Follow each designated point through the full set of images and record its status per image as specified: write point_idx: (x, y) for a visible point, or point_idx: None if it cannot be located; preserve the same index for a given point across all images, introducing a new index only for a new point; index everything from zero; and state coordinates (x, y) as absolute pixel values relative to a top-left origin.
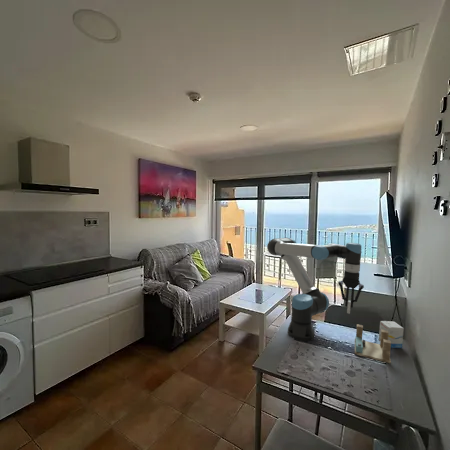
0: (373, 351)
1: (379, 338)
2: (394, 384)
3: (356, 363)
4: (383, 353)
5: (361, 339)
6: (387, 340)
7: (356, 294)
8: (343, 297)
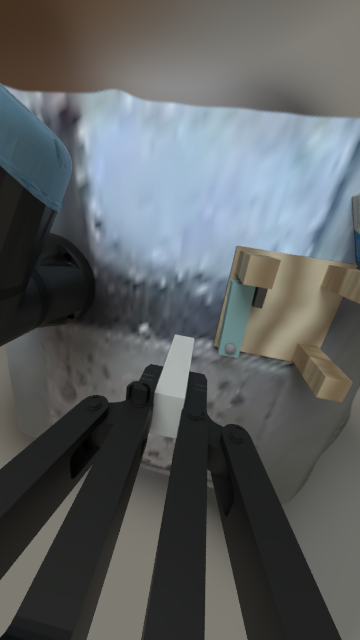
0: (278, 323)
1: (358, 202)
2: (274, 435)
3: (208, 384)
4: (299, 369)
5: (251, 300)
6: (339, 383)
7: (248, 534)
8: (87, 456)
